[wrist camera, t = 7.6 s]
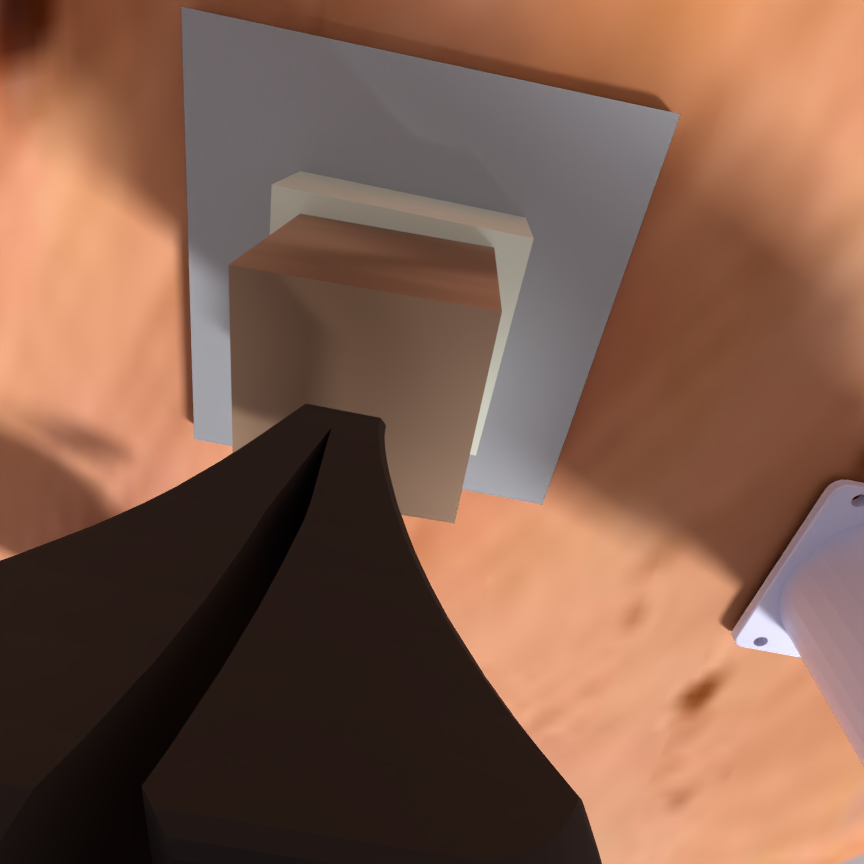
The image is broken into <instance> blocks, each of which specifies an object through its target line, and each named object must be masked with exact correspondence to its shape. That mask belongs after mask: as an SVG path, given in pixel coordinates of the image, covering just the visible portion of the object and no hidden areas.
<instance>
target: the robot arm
mask: <svg viewBox="0 0 864 864" xmlns="http://www.w3.org/2000/svg"><path fill="white" fill-rule="evenodd" d="M385 430H386V425H385V423H384V422H383V420H382V419H381V418H379V417H374V416H369V415H363V414H358V413H353V412H348V411H342V410H337V409H332V408H327V407H321V406H316V405H311V404H304V405H303V406H301V407H300V408H298V409H297V410H295V411H294V412H292V413H291V414H289V415H288V416H286V417H285V418H284V419H282V420H281V421H279V422H278V423H277V424H275V425H274V426H272V427H271V428H269V429H268V430H267V431H265V432H264V433H262V434H261V435H259V436H258V437H256V438H255V439H254V440H252V441H250V442H249V443H247V444H246V445H244V446H243V447H241V448H240V449H238V450H237V451H235V452H234V453H232V454H231V455H229V456H228V457H226V458H225V459H223V460H221V461H220V462H218V463H216V464H215V465H213V466H211V467H210V468H208V469H206V470H204V471H203V472H201V473H199V474H197V475H196V476H194V477H192V478H191V479H189V480H187V481H185V482H184V483H182V484H180V485H178V486H177V487H175V488H173V489H171V490H169V491H167V492H165V493H163V494H161V495H159V496H157V497H155V498H153V499H151V500H149V501H147V502H145V503H143V504H141V505H139V506H136V507H134V508H132V509H130V510H128V511H125V512H123V513H121V514H119V515H117V516H115V517H112V518H110V519H108V520H106V521H103V522H101V523H99V524H96V525H94V526H91V527H89V528H86V529H83V530H81V531H78V532H76V533H73V534H70V535H68V536H65V537H62V538H60V539H57V540H55V541H52V542H49V543H47V544H44V545H41V546H39V547H36V548H34V549H31V550H28V551H26V552H23V553H20V554H18V555H15V556H12V557H10V558H7V559H4V560H1V561H0V864H602V863H601V859H600V855H599V852H598V849H597V845H596V842H595V839H594V836H593V833H592V830H591V826H590V823H589V820H588V817H587V814H586V811H585V808H584V805H583V802H582V800H581V799H580V797H579V796H578V795H577V794H576V793H575V791H574V790H573V789H572V788H571V787H570V785H569V784H568V783H567V782H566V781H565V779H564V778H563V777H562V776H561V775H560V773H559V772H558V771H557V770H556V769H555V767H554V766H553V765H552V764H551V763H550V761H549V760H548V759H547V758H546V757H545V755H544V754H543V753H542V752H541V751H540V749H539V748H538V747H537V746H536V744H535V743H534V742H533V740H532V739H531V738H530V737H529V735H528V734H527V733H526V732H525V730H524V729H523V728H522V726H521V725H520V724H519V723H518V721H517V720H516V719H515V717H514V716H513V715H512V713H511V712H510V710H509V709H508V708H507V706H506V705H505V703H504V702H503V701H502V699H501V698H500V696H499V695H498V694H497V692H496V691H495V690H494V688H493V687H492V685H491V684H490V683H489V681H488V680H487V678H486V677H485V676H484V674H483V672H482V671H481V669H480V668H479V666H478V664H477V663H476V661H475V660H474V658H473V657H472V655H471V653H470V652H469V650H468V649H467V647H466V645H465V644H464V642H463V641H462V639H461V637H460V636H459V634H458V633H457V631H456V630H455V628H454V626H453V625H452V623H451V622H450V620H449V618H448V617H447V615H446V613H445V611H444V609H443V607H442V606H441V604H440V602H439V600H438V598H437V596H436V594H435V592H434V591H433V589H432V587H431V585H430V583H429V581H428V579H427V577H426V574H425V572H424V570H423V568H422V566H421V564H420V562H419V560H418V557H417V555H416V553H415V550H414V548H413V545H412V543H411V540H410V538H409V535H408V533H407V530H406V527H405V524H404V521H403V519H402V516H401V513H400V510H399V507H398V503H397V500H396V497H395V493H394V489H393V485H392V481H391V477H390V473H389V469H388V464H387V457H386V451H385ZM860 494H861V495H860ZM857 495H860V496H859V497H858V498H856V499H854V500H852V499H853V498H854V497H855V496H857ZM731 634H732V637H733V639H734V642H735V643H736V644H737V645H738V646H741V647H746V648H751V649H757V650H762V651H768V652H773V653H779V654H784V655H790V656H796V657H801V658H802V660H803V662H804V663H805V665H806V667H807V668H808V670H809V672H810V674H811V675H812V677H813V679H814V681H815V682H816V684H817V686H818V688H819V689H820V691H821V693H822V695H823V696H824V698H825V700H826V702H827V703H828V705H829V707H830V709H831V710H832V712H833V714H834V716H835V717H836V719H837V721H838V723H839V724H840V726H841V728H842V730H843V731H844V733H845V735H846V737H847V738H848V740H849V742H850V744H851V745H852V747H853V749H854V751H855V752H856V754H857V756H858V758H859V759H860V761H861V763H862V764H863V766H864V483H862V482H857V481H852V480H838V481H835V482H833V483H831V484H830V485H829V486H828V487H827V488H826V489H825V490H824V492H823V493H822V495H821V496H820V498H819V499H818V501H817V502H816V504H815V505H814V507H813V508H812V510H811V512H810V513H809V515H808V516H807V518H806V519H805V521H804V522H803V524H802V525H801V527H800V528H799V530H798V531H797V533H796V534H795V536H794V537H793V539H792V540H791V542H790V543H789V545H788V547H787V548H786V550H785V551H784V553H783V554H782V556H781V557H780V559H779V560H778V562H777V563H776V565H775V566H774V568H773V569H772V571H771V572H770V574H769V575H768V577H767V578H766V580H765V581H764V583H763V585H762V586H761V588H760V589H759V591H758V592H757V594H756V595H755V597H754V598H753V600H752V601H751V603H750V604H749V606H748V607H747V609H746V610H745V612H744V613H743V615H742V616H741V618H740V620H739V621H738V623H737V624H736V626H735V627H734V629H733V630H732V633H731Z"/></svg>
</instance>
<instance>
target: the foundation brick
mask: <svg viewBox="0 0 864 864" xmlns="http://www.w3.org/2000/svg"><path fill="white" fill-rule="evenodd" d="M299 214H305V215H311V216H316V217H322V218H328V219H334V220H339V221H345V222H351V223H356V224H362V225H368V226H374V227H379V228H385V229H391V230H396V231H402V232H408V233H413V234H419V235H425V236H431V237H436V238H442V239H448V240H453V241H459V242H465V243H471V244H476V245H482V246H488V247H493V248H494V249H495V258H496V266H497V274H498V283H499V291H500V300H501V308H502V314H501V319H500V323H499V327H498V332H497V336H496V341H495V345H494V350H493V354H492V358H491V363H490V367H489V372H488V376H487V381H486V385H485V390H484V394H483V398H482V403H481V407H480V412H479V416H478V421H477V425H476V429H475V434H474V438H473V443H472V447H471V452H470V455H475V456H476V454H477V450H478V446H479V442H480V439H481V435H482V431H483V427H484V424H485V420H486V416H487V412H488V409H489V405H490V401H491V397H492V394H493V390H494V386H495V382H496V379H497V375H498V371H499V367H500V363H501V360H502V356H503V352H504V348H505V345H506V341H507V337H508V333H509V330H510V326H511V322H512V318H513V315H514V311H515V307H516V303H517V300H518V296H519V292H520V288H521V285H522V281H523V277H524V273H525V270H526V266H527V262H528V258H529V254H530V251H531V247H532V243H533V239H534V238H533V235H532V233H531V230H530V227H529V225H528V222H527V220H526V218H525V217H521V216H516V215H511V214H506V213H501V212H496V211H492V210H487V209H482V208H477V207H472V206H467V205H463V204H458V203H453V202H448V201H443V200H438V199H433V198H429V197H424V196H419V195H414V194H409V193H404V192H400V191H395V190H390V189H385V188H380V187H375V186H371V185H366V184H361V183H356V182H351V181H346V180H342V179H337V178H332V177H327V176H322V175H317V174H312V173H308V172H303V171H299V172H297V173H295V174H293V175H291V176H289V177H287V178H285V179H282V180H280V181H278V182H276V183H274V184H272V188H271V214H270V235H271V234H272V233H274V232H275V231H276V230H278V229H279V228H281V227H282V226H283V225H285V224H286V223H288V222H289V221H290V220H292V219H293V218H295V217H296V216H297V215H299Z"/></svg>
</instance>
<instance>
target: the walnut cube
mask: <svg viewBox="0 0 864 864" xmlns="http://www.w3.org/2000/svg"><path fill="white" fill-rule="evenodd" d="M228 268H229V312H230V355H231V398H232V442H233V453H234V452H235V451H237V450H238V449H240V448H241V447H243V446H244V445H246V444H247V443H249V442H250V441H252V440H254V439H255V438H256V437H258V436H259V435H261V434H262V433H264V432H265V431H267V430H268V429H269V428H271V427H272V426H274V425H275V424H277V423H278V422H279V421H281V420H282V419H284V418H285V417H286V416H288V415H289V414H291V413H292V412H294V411H295V410H297V409H298V408H300V407H301V406H303V405H304V404H311V405H316V406H321V407H327V408H332V409H337V410H342V411H348V412H353V413H358V414H363V415H369V416H374V417H379V418H381V419H382V420H383V422H384V423H385V425H386V430H385V451H386V457H387V464H388V469H389V473H390V477H391V481H392V485H393V489H394V493H395V497H396V500H397V503H398V507H399V510H400V513H401V515H407V516H413V517H419V518H425V519H431V520H437V521H443V522H449V523H455V518H456V514H457V509H458V505H459V500H460V496H461V491H462V487H463V483H464V478H465V474H466V469H467V465H468V460H469V456H470V452H471V447H472V443H473V438H474V434H475V429H476V425H477V421H478V416H479V412H480V407H481V403H482V398H483V394H484V390H485V385H486V381H487V376H488V372H489V367H490V363H491V358H492V354H493V350H494V345H495V341H496V336H497V332H498V327H499V323H500V319H501V314H502V308H501V300H500V291H499V283H498V274H497V266H496V258H495V249H494V248H493V247H488V246H482V245H476V244H471V243H465V242H459V241H453V240H448V239H442V238H436V237H431V236H425V235H419V234H413V233H408V232H402V231H396V230H391V229H385V228H379V227H374V226H368V225H362V224H356V223H351V222H345V221H339V220H334V219H328V218H322V217H316V216H311V215H305V214H299V215H297V216H296V217H295V218H293V219H292V220H290V221H289V222H288V223H286V224H285V225H283V226H282V227H281V228H279V229H278V230H276V231H275V232H274V233H272V234H271V235H269V236H268V237H267V238H265V239H264V240H262V241H261V242H260V243H258V244H257V245H255V246H254V247H253V248H251V249H250V250H248V251H247V252H246V253H244V254H243V255H241V256H240V257H239V258H237V259H236V260H234V261H233V262H232V263H230V264H229V265H228Z"/></svg>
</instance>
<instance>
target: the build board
mask: <svg viewBox="0 0 864 864" xmlns="http://www.w3.org/2000/svg"><path fill="white" fill-rule="evenodd" d="M181 21H182V54H183V87H184V120H185V153H186V185H187V218H188V251H189V284H190V317H191V349H192V382H193V415H194V439H197V440H202V441H207V442H213V443H218V444H223V445H229V446H233V442H232V398H231V355H230V312H229V268H228V265H229V264H230V263H232V262H233V261H234V260H236V259H237V258H239V257H240V256H241V255H243V254H244V253H246V252H247V251H248V250H250V249H251V248H253V247H254V246H255V245H257V244H258V243H260V242H261V241H262V240H264V239H265V238H267V237H268V236H269V235H270V214H271V188H272V184H274V183H276V182H278V181H280V180H282V179H285V178H287V177H289V176H291V175H293V174H295V173H297V172H299V171H303V172H308V173H312V174H317V175H322V176H327V177H332V178H337V179H342V180H346V181H351V182H356V183H361V184H366V185H371V186H375V187H380V188H385V189H390V190H395V191H400V192H404V193H409V194H414V195H419V196H424V197H429V198H433V199H438V200H443V201H448V202H453V203H458V204H463V205H467V206H472V207H477V208H482V209H487V210H492V211H496V212H501V213H506V214H511V215H516V216H521V217H525V218H526V220H527V222H528V225H529V227H530V230H531V233H532V235H533V238H534V239H533V243H532V247H531V251H530V254H529V258H528V262H527V266H526V270H525V273H524V277H523V281H522V285H521V288H520V292H519V296H518V300H517V303H516V307H515V311H514V315H513V318H512V322H511V326H510V330H509V333H508V337H507V341H506V345H505V348H504V352H503V356H502V360H501V363H500V367H499V371H498V375H497V379H496V382H495V386H494V390H493V394H492V397H491V401H490V405H489V409H488V412H487V416H486V420H485V424H484V427H483V431H482V435H481V439H480V442H479V446H478V450H477V454H476V456H475V455H470V456H469V460H468V465H467V469H466V474H465V478H464V483H463V487H462V489H463V490H468V491H473V492H479V493H484V494H489V495H495V496H500V497H505V498H511V499H516V500H521V501H527V502H532V503H537V504H543V501H544V498H545V495H546V492H547V490H548V487H549V484H550V481H551V478H552V475H553V473H554V470H555V467H556V464H557V461H558V459H559V456H560V453H561V450H562V447H563V444H564V442H565V439H566V436H567V433H568V430H569V427H570V425H571V422H572V419H573V416H574V413H575V411H576V408H577V405H578V402H579V399H580V396H581V394H582V391H583V388H584V385H585V382H586V379H587V377H588V374H589V371H590V368H591V365H592V362H593V360H594V357H595V354H596V351H597V348H598V346H599V343H600V340H601V337H602V334H603V331H604V329H605V326H606V323H607V320H608V317H609V314H610V312H611V309H612V306H613V303H614V300H615V298H616V295H617V292H618V289H619V286H620V283H621V281H622V278H623V275H624V272H625V269H626V266H627V264H628V261H629V258H630V255H631V252H632V250H633V247H634V244H635V241H636V238H637V235H638V233H639V230H640V227H641V224H642V221H643V218H644V216H645V213H646V210H647V207H648V204H649V202H650V199H651V196H652V193H653V190H654V187H655V185H656V182H657V179H658V176H659V173H660V170H661V168H662V165H663V162H664V159H665V156H666V154H667V151H668V148H669V145H670V142H671V139H672V137H673V134H674V131H675V128H676V125H677V122H678V120H679V117H680V114H678V113H673V112H669V111H664V110H659V109H655V108H650V107H646V106H641V105H636V104H632V103H627V102H622V101H618V100H613V99H608V98H604V97H599V96H595V95H590V94H585V93H581V92H576V91H571V90H567V89H562V88H557V87H553V86H548V85H543V84H539V83H534V82H530V81H525V80H520V79H516V78H511V77H506V76H502V75H497V74H492V73H488V72H483V71H479V70H474V69H469V68H465V67H460V66H455V65H451V64H446V63H441V62H437V61H432V60H428V59H423V58H418V57H414V56H409V55H404V54H400V53H395V52H390V51H386V50H381V49H377V48H372V47H367V46H363V45H358V44H353V43H349V42H344V41H339V40H335V39H330V38H325V37H321V36H316V35H312V34H307V33H302V32H298V31H293V30H288V29H284V28H279V27H274V26H270V25H265V24H261V23H256V22H251V21H247V20H242V19H237V18H233V17H228V16H223V15H219V14H214V13H210V12H205V11H200V10H196V9H191V8H186V7H182V6H181Z"/></svg>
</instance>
